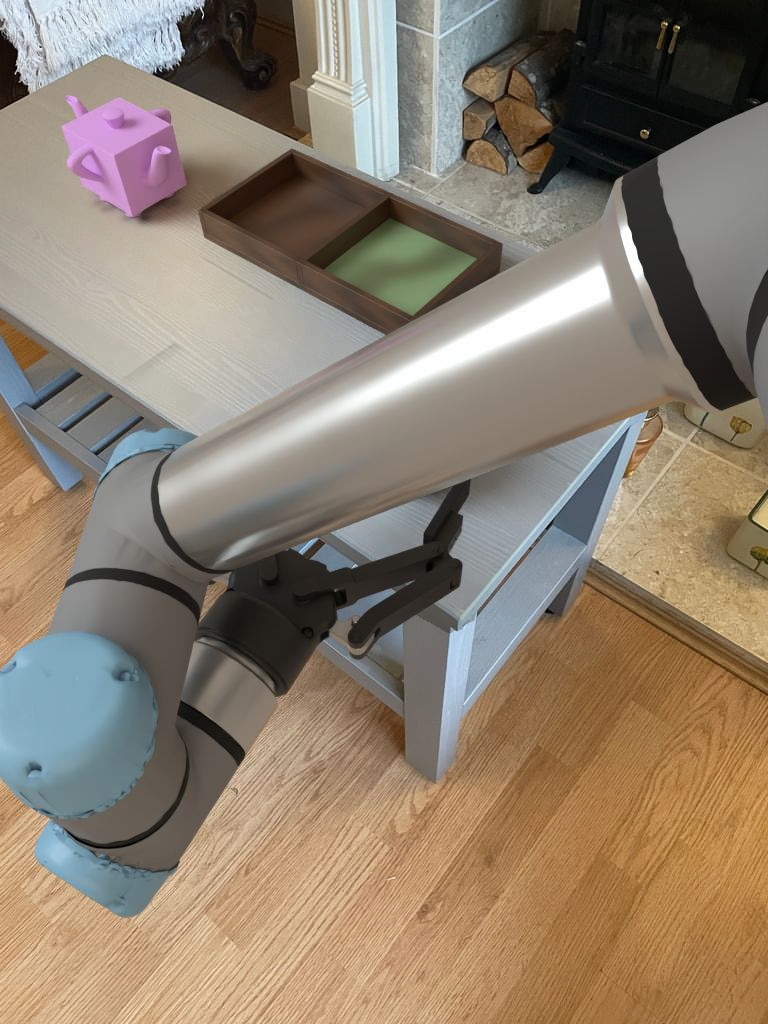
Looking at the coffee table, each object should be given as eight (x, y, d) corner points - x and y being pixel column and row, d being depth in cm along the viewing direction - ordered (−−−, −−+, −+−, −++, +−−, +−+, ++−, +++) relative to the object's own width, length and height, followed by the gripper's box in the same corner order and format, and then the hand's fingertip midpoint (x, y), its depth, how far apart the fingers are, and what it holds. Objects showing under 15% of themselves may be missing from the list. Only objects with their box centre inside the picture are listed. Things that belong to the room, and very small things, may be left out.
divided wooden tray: (499, 271, 94) (503, 243, 91) (413, 349, 87) (413, 322, 84) (295, 175, 106) (291, 148, 103) (204, 237, 99) (197, 210, 96)
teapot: (203, 164, 108) (184, 82, 99) (188, 225, 100) (167, 142, 91) (90, 166, 108) (62, 84, 99) (67, 227, 101) (34, 144, 92)
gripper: (105, 616, 60) (263, 426, 71) (401, 776, 53) (527, 538, 63) (72, 563, 54) (251, 364, 64) (401, 737, 47) (541, 480, 57)
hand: (388, 450), depth 64 cm, fingers open, 13 cm apart
